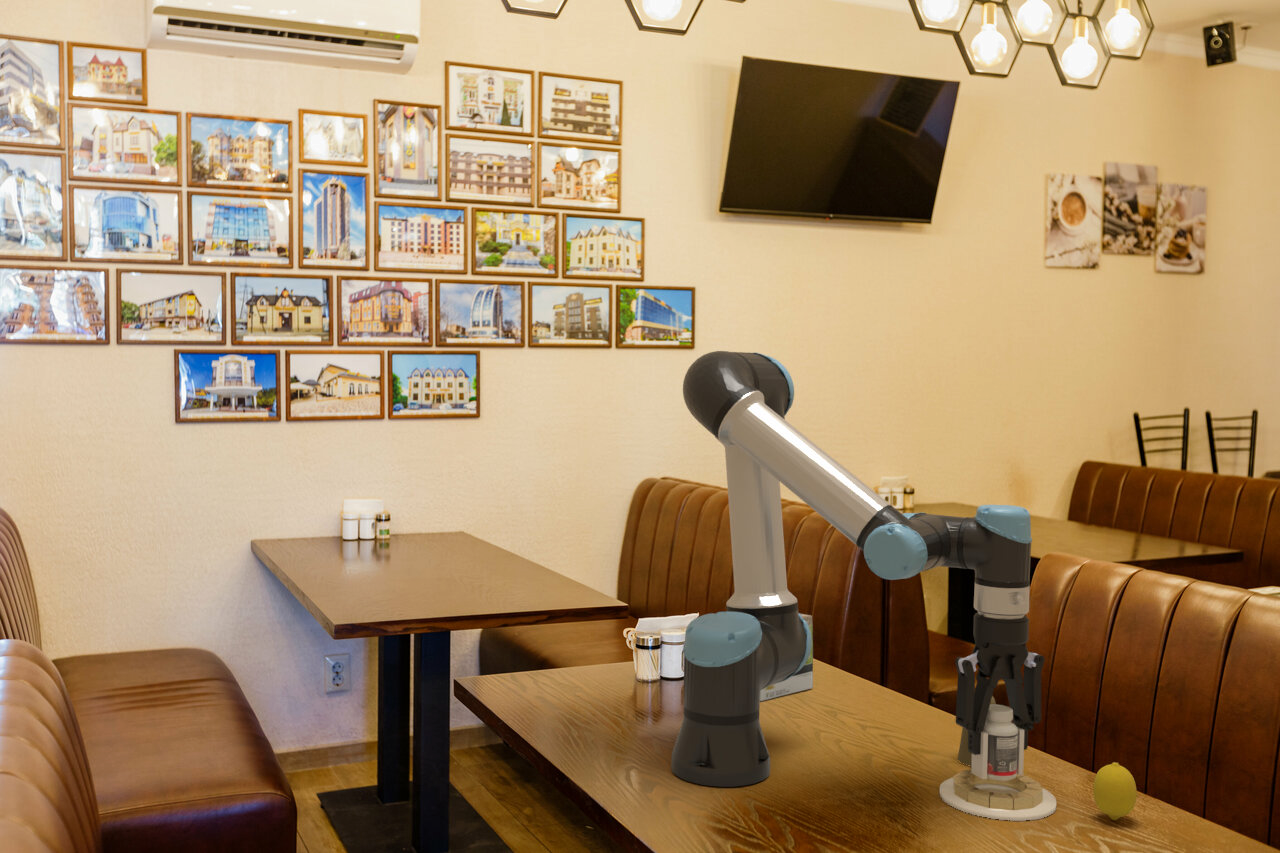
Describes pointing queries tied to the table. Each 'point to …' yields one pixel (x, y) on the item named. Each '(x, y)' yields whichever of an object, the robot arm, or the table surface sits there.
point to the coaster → (1013, 815)
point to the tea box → (798, 680)
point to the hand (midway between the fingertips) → (997, 773)
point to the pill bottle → (1001, 743)
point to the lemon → (1114, 791)
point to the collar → (1007, 801)
